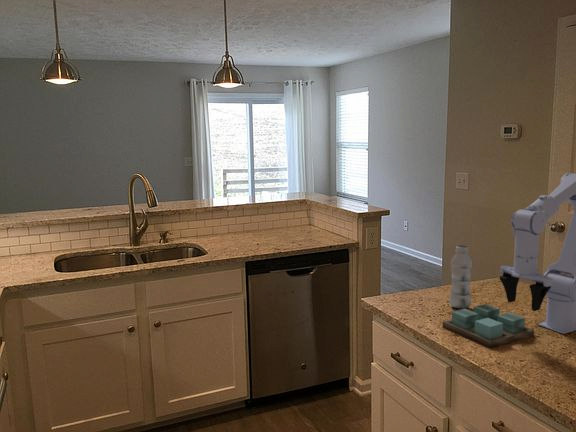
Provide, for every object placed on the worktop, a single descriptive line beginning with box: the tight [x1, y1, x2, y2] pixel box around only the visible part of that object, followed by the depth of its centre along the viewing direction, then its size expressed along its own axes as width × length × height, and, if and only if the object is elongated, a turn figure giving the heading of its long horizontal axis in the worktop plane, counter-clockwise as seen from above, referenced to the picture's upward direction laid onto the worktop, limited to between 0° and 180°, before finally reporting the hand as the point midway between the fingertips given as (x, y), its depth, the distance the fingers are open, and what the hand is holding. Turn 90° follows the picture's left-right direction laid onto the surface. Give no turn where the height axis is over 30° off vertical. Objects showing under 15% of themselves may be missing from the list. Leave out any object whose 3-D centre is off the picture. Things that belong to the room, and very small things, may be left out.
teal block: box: [474, 318, 503, 340], centre depth 139 cm, size 5×5×4 cm
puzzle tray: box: [442, 303, 535, 349], centre depth 144 cm, size 17×17×5 cm
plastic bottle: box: [448, 244, 473, 310], centre depth 163 cm, size 6×7×20 cm
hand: (523, 305), depth 136 cm, fingers open, 7 cm apart
